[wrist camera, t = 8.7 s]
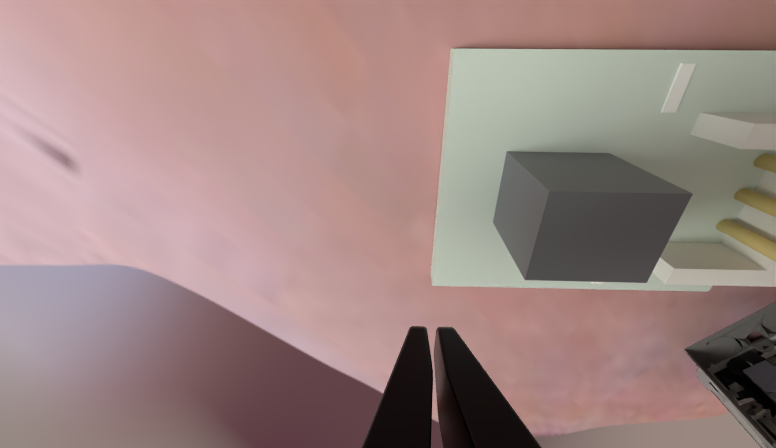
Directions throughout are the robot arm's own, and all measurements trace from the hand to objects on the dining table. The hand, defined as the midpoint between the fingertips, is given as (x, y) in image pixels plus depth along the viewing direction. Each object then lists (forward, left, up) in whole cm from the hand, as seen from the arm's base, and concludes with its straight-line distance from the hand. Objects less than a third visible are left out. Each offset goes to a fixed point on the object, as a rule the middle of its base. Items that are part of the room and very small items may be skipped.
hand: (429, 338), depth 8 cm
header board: (0, +10, -11) cm, 15 cm away
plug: (0, +7, -10) cm, 12 cm away
